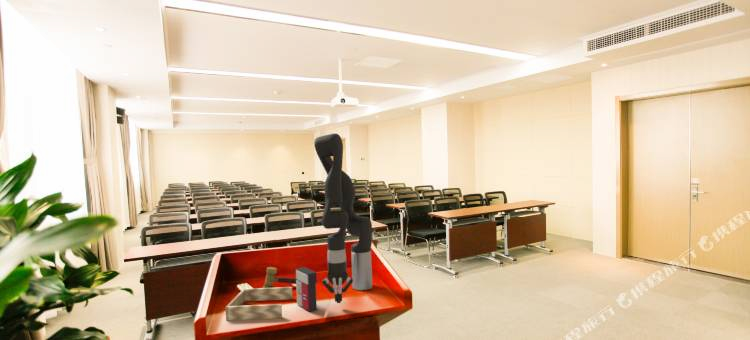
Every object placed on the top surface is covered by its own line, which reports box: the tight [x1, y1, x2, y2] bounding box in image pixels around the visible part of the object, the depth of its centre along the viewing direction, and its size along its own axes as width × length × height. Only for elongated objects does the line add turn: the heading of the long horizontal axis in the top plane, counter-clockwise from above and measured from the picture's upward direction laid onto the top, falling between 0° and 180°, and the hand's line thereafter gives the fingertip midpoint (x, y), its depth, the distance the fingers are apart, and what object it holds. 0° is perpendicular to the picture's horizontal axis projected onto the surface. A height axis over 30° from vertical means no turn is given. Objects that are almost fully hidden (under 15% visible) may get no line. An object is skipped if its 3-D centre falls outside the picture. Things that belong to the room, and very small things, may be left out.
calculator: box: [295, 266, 318, 312], centre depth 152 cm, size 11×4×15 cm, turn 38°
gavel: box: [262, 266, 297, 288], centre depth 176 cm, size 21×5×10 cm, turn 114°
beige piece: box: [224, 286, 293, 321], centre depth 152 cm, size 21×20×5 cm
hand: (338, 302), depth 152 cm, fingers closed
